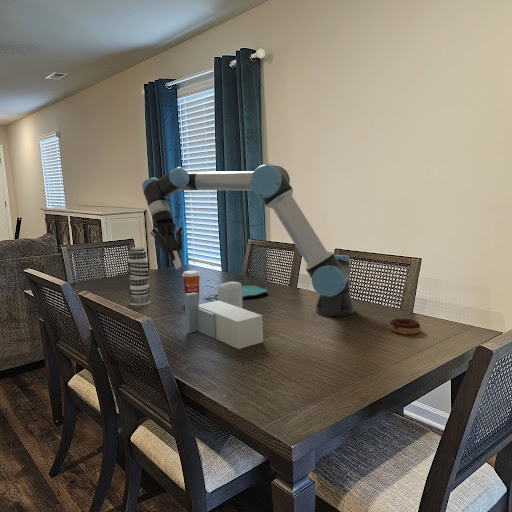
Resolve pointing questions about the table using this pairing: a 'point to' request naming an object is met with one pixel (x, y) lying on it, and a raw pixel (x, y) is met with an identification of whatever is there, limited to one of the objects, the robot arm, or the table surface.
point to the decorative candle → (138, 276)
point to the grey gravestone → (231, 293)
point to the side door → (198, 316)
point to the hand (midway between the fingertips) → (178, 267)
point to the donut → (405, 326)
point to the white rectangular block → (235, 324)
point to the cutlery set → (247, 292)
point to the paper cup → (191, 282)
